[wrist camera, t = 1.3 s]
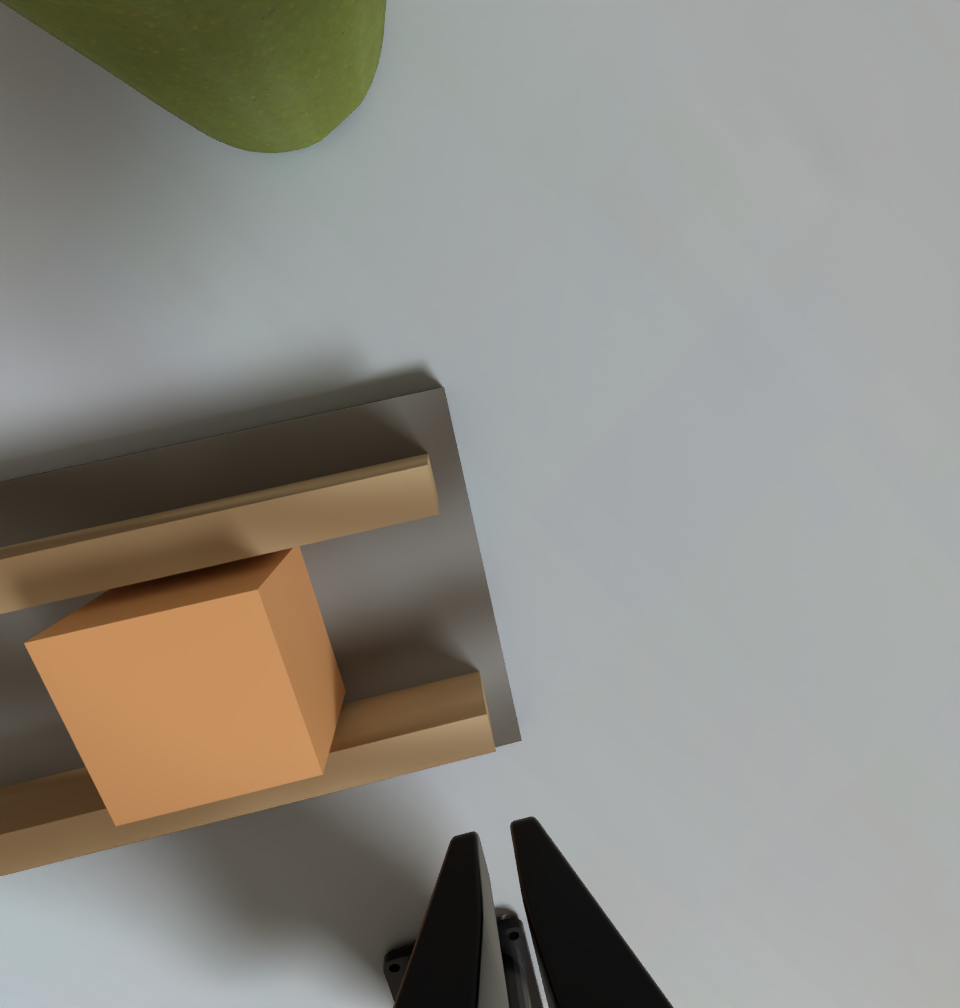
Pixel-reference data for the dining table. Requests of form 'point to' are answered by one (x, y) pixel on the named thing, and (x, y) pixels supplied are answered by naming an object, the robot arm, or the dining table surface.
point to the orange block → (196, 685)
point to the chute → (247, 533)
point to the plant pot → (231, 59)
